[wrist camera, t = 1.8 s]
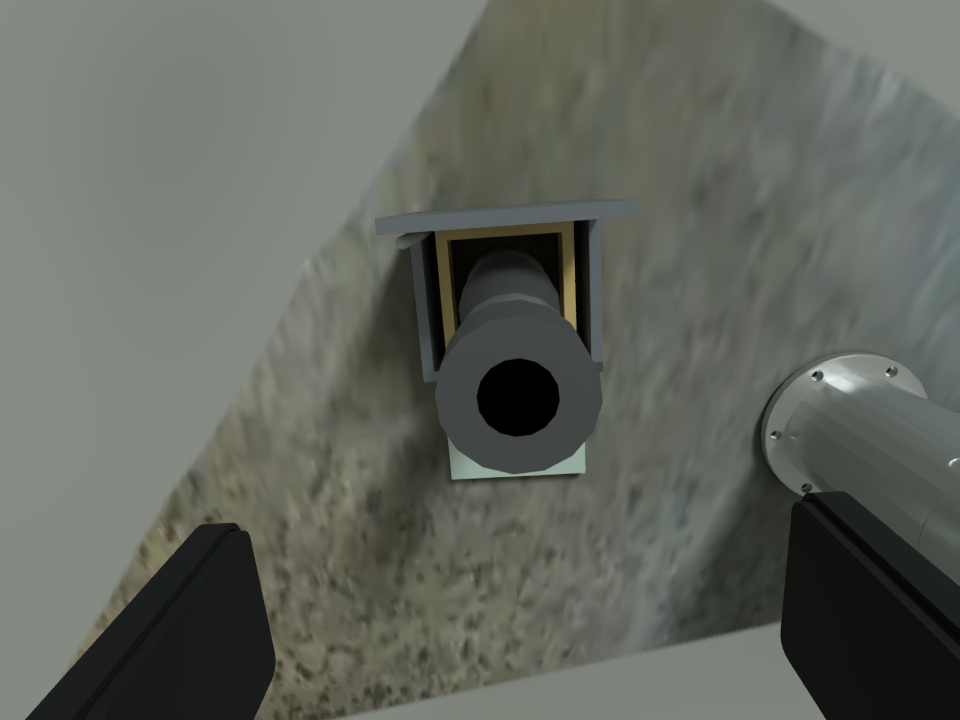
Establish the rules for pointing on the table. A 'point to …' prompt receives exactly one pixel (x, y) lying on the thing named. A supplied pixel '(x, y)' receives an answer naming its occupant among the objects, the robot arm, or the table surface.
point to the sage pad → (470, 469)
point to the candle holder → (515, 370)
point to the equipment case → (497, 225)
